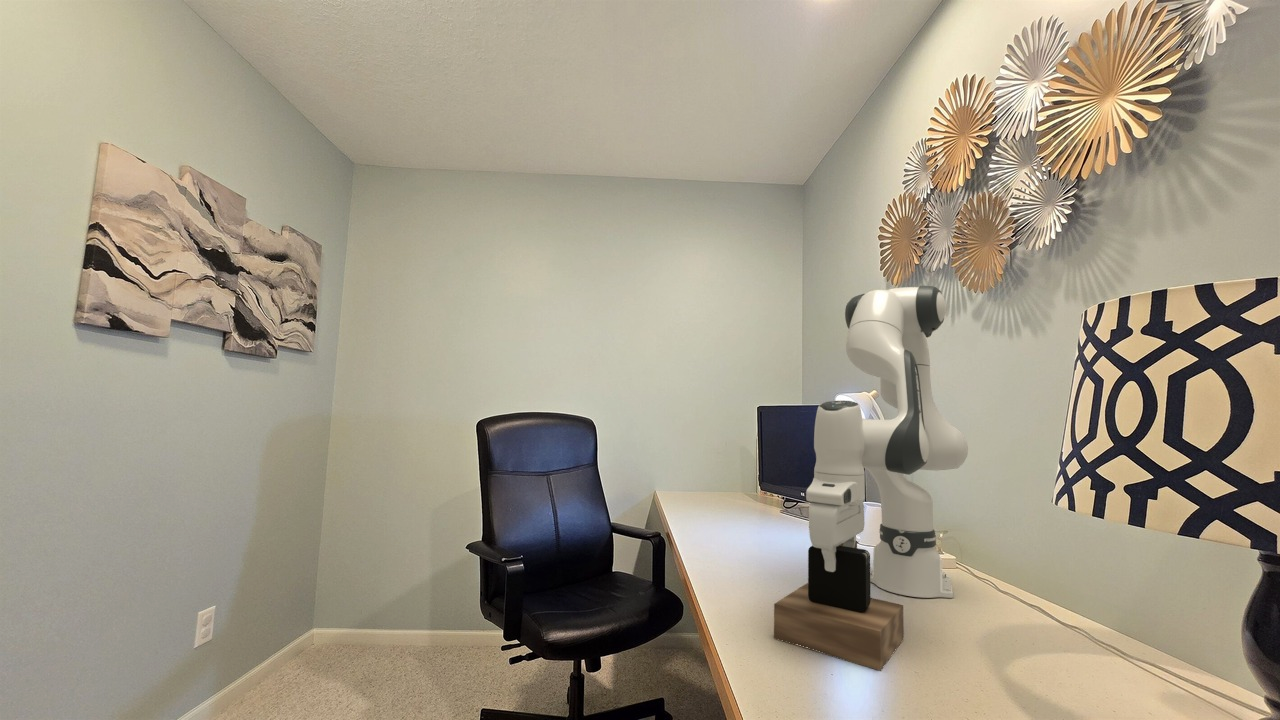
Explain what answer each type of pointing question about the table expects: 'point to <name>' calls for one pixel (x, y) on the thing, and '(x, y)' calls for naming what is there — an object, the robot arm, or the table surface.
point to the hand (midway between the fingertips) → (839, 564)
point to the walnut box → (840, 628)
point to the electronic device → (840, 579)
